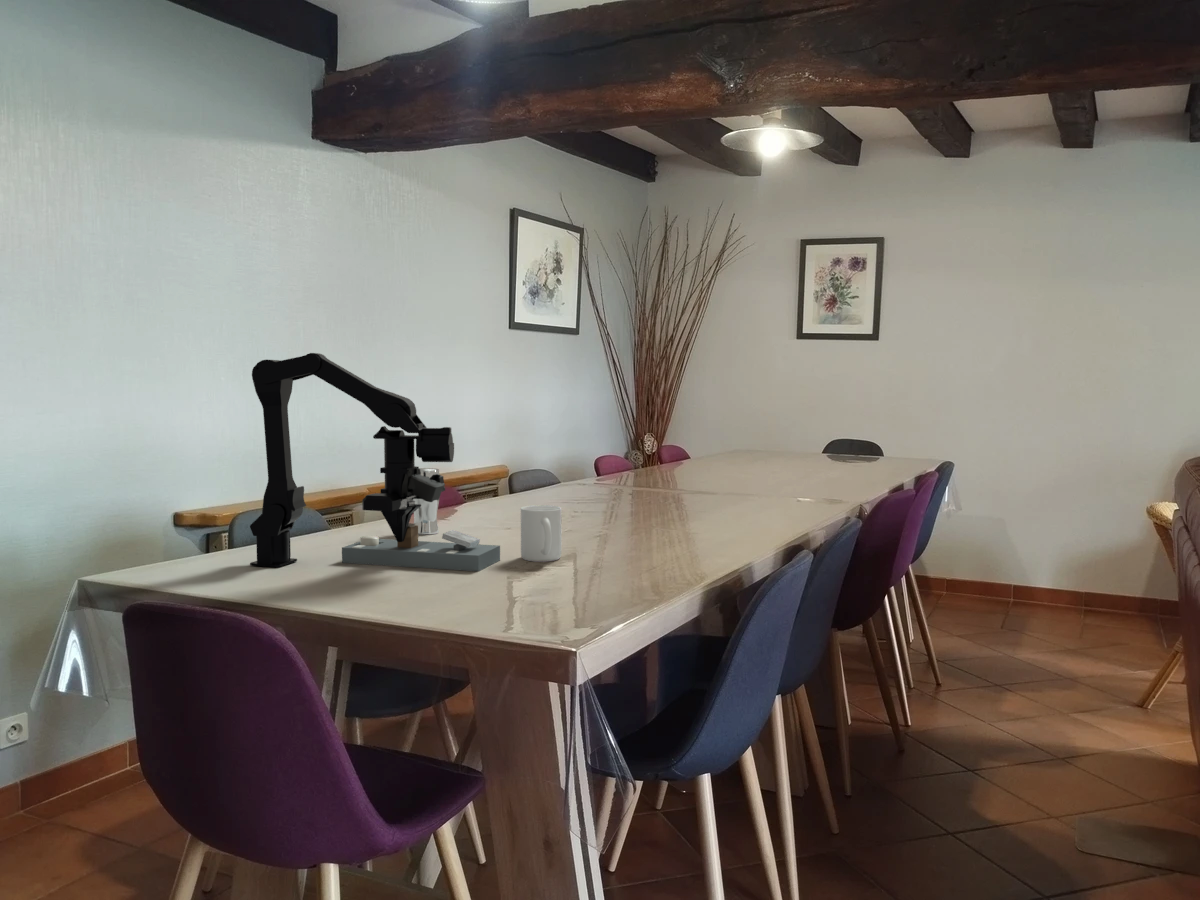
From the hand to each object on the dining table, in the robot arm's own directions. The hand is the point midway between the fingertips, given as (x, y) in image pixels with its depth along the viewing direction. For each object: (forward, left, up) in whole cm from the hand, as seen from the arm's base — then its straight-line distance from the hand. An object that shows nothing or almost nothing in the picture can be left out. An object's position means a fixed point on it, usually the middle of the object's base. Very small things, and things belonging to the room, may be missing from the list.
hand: (400, 541), depth 179 cm
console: (+4, -3, -4) cm, 7 cm away
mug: (+13, -25, -5) cm, 28 cm away
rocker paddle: (+4, -11, 0) cm, 12 cm away
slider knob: (+3, 0, -1) cm, 3 cm away
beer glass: (+36, +12, -5) cm, 38 cm away
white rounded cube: (+4, +9, -4) cm, 11 cm away
